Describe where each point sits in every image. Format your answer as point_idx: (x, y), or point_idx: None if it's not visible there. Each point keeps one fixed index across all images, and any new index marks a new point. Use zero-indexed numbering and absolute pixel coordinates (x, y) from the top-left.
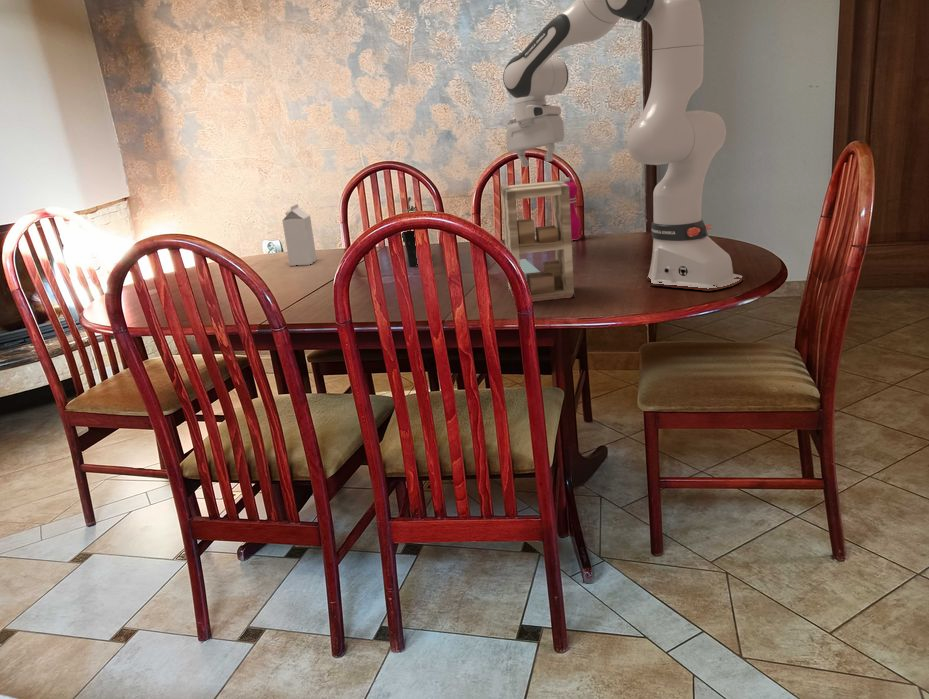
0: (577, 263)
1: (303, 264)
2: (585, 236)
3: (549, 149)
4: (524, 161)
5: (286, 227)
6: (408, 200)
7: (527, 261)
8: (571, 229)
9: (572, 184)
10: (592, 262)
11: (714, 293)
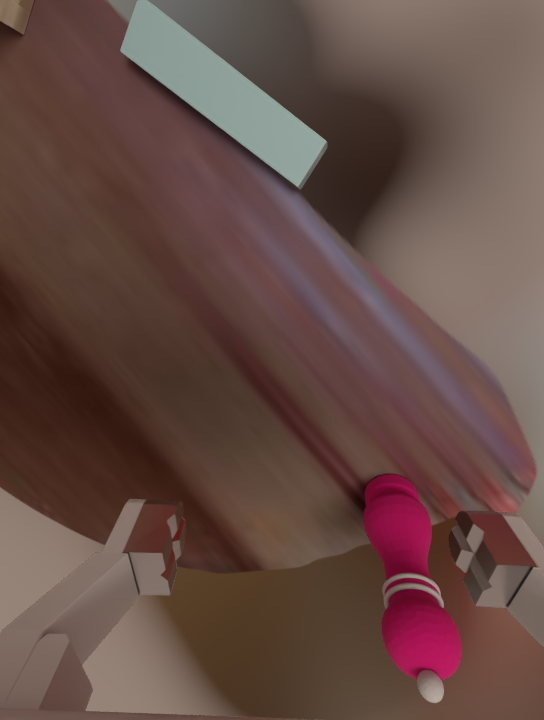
0: (189, 281)
1: None
2: None
3: (31, 609)
4: (489, 548)
5: None
6: None
7: (262, 156)
8: (373, 500)
9: (397, 657)
10: (165, 305)
11: None
